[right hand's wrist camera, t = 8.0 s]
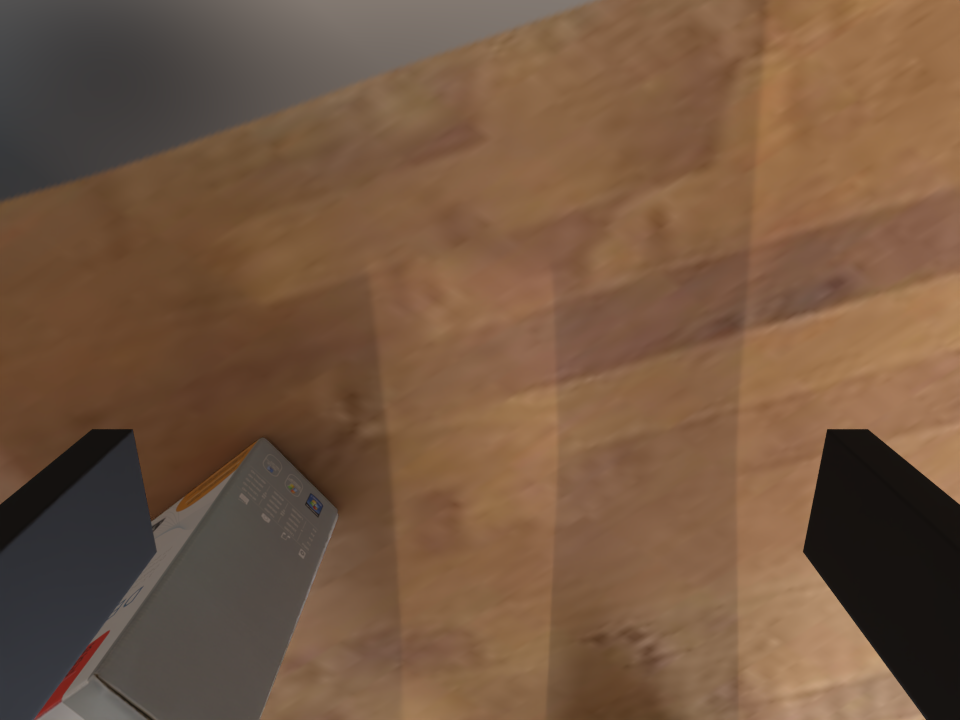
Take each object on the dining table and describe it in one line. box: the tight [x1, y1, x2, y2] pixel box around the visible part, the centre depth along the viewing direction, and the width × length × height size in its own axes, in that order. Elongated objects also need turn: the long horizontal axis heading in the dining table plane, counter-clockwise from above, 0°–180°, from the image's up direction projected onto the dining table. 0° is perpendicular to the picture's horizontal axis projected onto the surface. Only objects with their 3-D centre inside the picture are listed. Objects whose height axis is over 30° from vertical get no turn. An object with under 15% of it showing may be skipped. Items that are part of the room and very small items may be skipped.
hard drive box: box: [34, 438, 338, 720], centre depth 37 cm, size 16×8×20 cm, turn 128°
